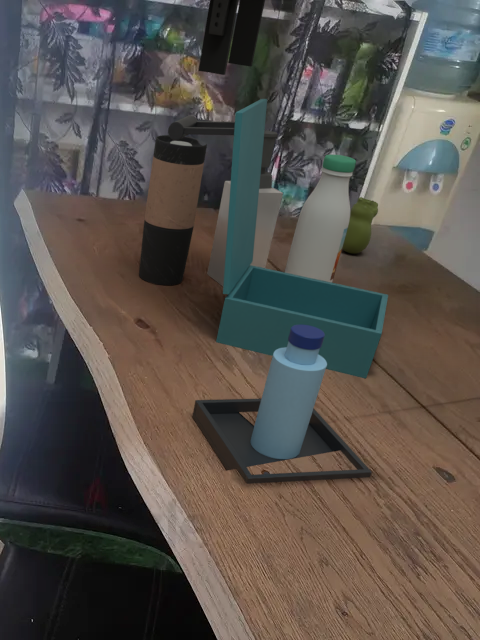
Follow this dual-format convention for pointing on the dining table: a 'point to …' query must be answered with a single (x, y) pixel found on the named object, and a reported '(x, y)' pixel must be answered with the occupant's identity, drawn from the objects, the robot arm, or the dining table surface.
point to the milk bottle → (323, 222)
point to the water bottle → (290, 394)
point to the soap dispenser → (264, 221)
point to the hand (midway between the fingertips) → (226, 68)
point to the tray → (237, 453)
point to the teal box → (304, 317)
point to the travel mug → (171, 209)
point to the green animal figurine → (360, 225)
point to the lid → (236, 180)
